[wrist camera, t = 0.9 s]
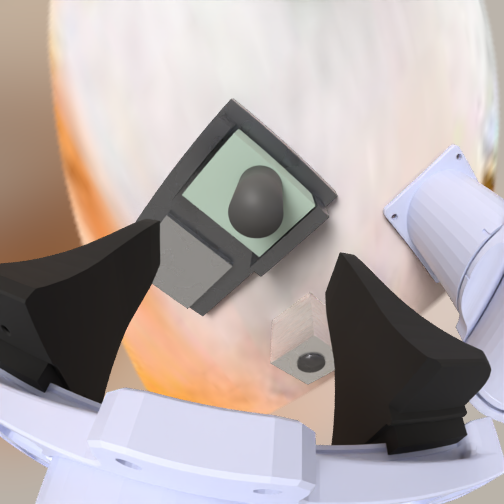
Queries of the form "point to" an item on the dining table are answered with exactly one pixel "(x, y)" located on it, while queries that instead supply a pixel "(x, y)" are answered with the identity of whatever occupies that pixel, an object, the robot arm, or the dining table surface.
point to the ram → (249, 194)
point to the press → (212, 234)
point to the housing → (303, 340)
